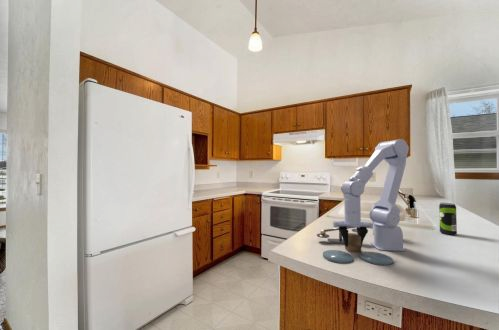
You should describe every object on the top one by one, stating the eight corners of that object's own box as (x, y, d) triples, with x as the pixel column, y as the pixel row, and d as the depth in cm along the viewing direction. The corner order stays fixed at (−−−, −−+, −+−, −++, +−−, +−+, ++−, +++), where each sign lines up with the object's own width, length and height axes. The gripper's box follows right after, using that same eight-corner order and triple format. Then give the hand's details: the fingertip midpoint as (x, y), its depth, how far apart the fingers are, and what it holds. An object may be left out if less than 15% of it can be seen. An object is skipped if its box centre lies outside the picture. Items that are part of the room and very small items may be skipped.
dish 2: (383, 254, 81) (383, 252, 81) (399, 266, 71) (399, 263, 71) (355, 253, 82) (355, 251, 82) (366, 264, 72) (366, 262, 72)
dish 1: (347, 252, 82) (347, 250, 82) (357, 264, 72) (357, 261, 72) (320, 251, 83) (320, 249, 83) (326, 262, 73) (326, 260, 74)
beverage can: (455, 233, 108) (454, 203, 109) (458, 236, 103) (457, 204, 103) (438, 231, 112) (438, 202, 112) (441, 234, 106) (440, 203, 107)
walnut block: (356, 248, 87) (356, 233, 87) (361, 252, 82) (361, 236, 83) (345, 248, 87) (344, 233, 88) (348, 252, 83) (348, 236, 83)
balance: (362, 241, 96) (362, 223, 96) (367, 245, 90) (367, 226, 91) (315, 239, 98) (315, 222, 98) (318, 243, 93) (318, 225, 93)
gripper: (336, 212, 82) (336, 248, 82) (376, 213, 81) (377, 250, 80) (331, 209, 89) (331, 242, 89) (368, 210, 88) (368, 244, 87)
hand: (352, 246), depth 85 cm, fingers closed on walnut block, 4 cm apart
